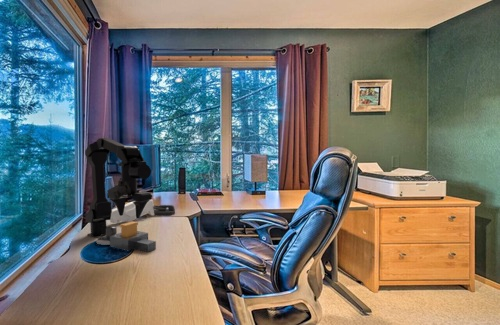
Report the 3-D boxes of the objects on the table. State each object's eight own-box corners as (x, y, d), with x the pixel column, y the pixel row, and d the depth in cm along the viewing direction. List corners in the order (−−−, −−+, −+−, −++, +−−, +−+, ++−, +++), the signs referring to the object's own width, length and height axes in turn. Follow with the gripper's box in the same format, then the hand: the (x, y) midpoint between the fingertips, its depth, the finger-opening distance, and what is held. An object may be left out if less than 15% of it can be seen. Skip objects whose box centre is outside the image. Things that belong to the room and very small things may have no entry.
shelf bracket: (156, 216, 164) (153, 195, 161) (117, 235, 143) (113, 212, 141) (150, 215, 167) (147, 194, 164) (111, 233, 146) (106, 210, 144)
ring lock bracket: (90, 243, 115) (90, 228, 115) (113, 236, 125) (113, 222, 125) (140, 255, 103) (140, 239, 103) (162, 246, 113) (162, 231, 113)
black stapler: (134, 201, 173) (176, 201, 174) (134, 212, 173) (176, 212, 175) (129, 204, 164) (173, 204, 165) (129, 216, 164) (173, 215, 166)
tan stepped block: (120, 247, 111) (120, 224, 111) (132, 242, 116) (132, 221, 116) (125, 248, 110) (125, 225, 109) (138, 244, 115) (137, 222, 115)
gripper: (94, 178, 109) (95, 218, 109) (129, 180, 101) (129, 224, 101) (119, 176, 119) (119, 212, 119) (152, 178, 111) (152, 217, 111)
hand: (129, 216), depth 113 cm, fingers open, 9 cm apart
